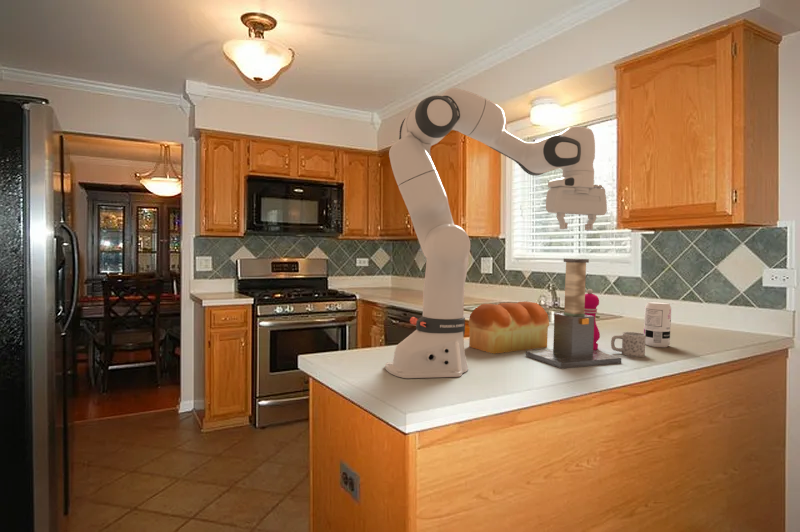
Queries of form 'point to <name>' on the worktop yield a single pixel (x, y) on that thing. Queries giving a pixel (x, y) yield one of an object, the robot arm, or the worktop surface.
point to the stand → (573, 344)
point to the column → (575, 286)
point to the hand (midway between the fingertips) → (576, 229)
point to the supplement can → (657, 324)
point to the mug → (631, 344)
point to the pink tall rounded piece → (592, 313)
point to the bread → (508, 327)
